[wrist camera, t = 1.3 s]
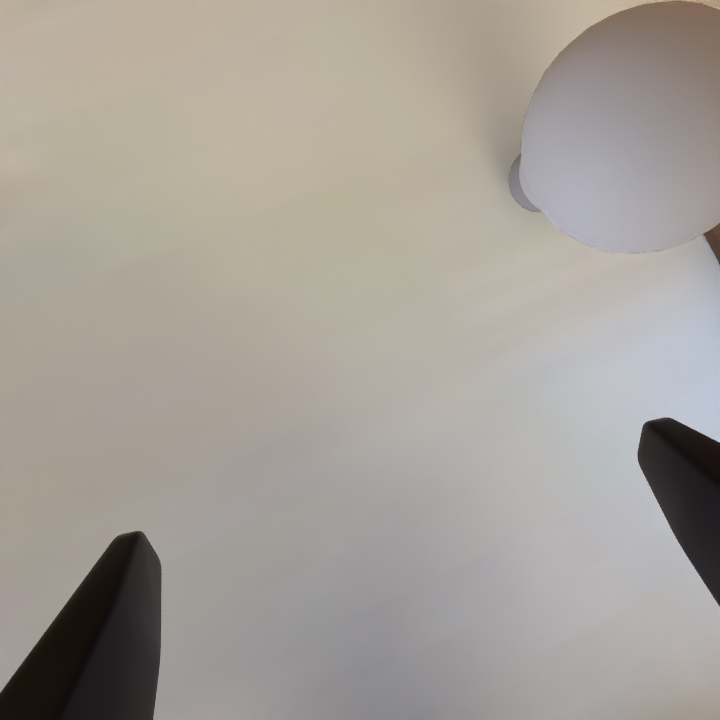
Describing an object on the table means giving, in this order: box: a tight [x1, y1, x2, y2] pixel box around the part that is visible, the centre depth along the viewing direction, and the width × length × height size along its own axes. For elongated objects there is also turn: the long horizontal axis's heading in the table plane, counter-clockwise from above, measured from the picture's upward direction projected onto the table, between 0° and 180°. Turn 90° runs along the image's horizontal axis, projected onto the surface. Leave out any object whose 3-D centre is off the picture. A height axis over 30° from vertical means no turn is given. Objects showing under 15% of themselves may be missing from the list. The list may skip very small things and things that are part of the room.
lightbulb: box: [509, 1, 720, 254], centre depth 18 cm, size 6×6×11 cm
